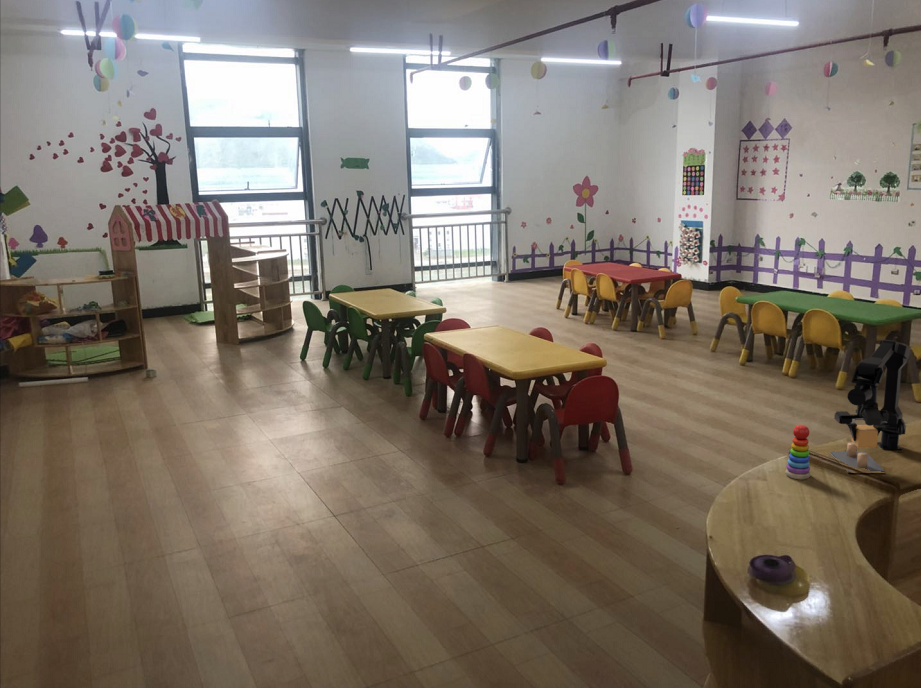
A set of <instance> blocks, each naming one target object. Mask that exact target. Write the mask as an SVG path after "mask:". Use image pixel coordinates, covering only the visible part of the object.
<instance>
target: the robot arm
mask: <svg viewBox="0 0 921 688" xmlns="http://www.w3.org/2000/svg"><path fill="white" fill-rule="evenodd" d="M910 351H911V350H910V348H909V347H908V346H907V345H904V344H901V343H899V341H896V340H889V339H881V340H880V343H879V346H878V347H877V348H876V349H875V351H874V352H873V353H872V354H871V355H870V356H869V357H867V358H863V359H862V360H861V361H859V363H858V364H857V365H856V367H855V369H854V373H853V375H852V379H851V383H852V384H855V385H854V387H853V388H852V389H850V390H849V391H848V393H847V399H848V401H849V403H850V404H852V405H853V406H856V409H855V414H851V413H849V411H847V410H846V411H843V410H842V411H841V410H840V411H835V413H834V420H835V421H836V422H837V423H838V424H841V425H846V426H847V427H848V429H849V432H850V435H851V439H852V438H853V440H854V441H856V427H857V425H858V424H857V423H856V421H864V423H865V425H869V426H871V425H872V426H873V427H874V428H875V429H877V430H878V436H877V438H878V437H879V434H881V435H880V441H879V442H878V441H877V446H879V447H880V448H881V449H882V450H886V451H888V450H890V451H891V450H894V451H897V450H901V451H902V449H903V448H902V447H901V446H900V445H899V441H900V436H902V435H906V427H907V425H906V424H905V423H906V422H905V421H904V419H903V415H904V414H903V412H902V410H901V408H900V407H899V402H900V401H899V399H900V390H901V376H902V368H903V367H904V366H906V364H907V362H908V359H909V358H910V355H911V352H910ZM883 367H885V369H886V374H885V371H884V368H883ZM884 375H885V384H884V385H885V387H884V398H883V399H884V400H883V406H882V408H881V409H879V403H878V402H877V401H878V400H877V399H878V389H879V388H878V386H879V385H880V384H881V382H882V379H883V377H884ZM880 432H881V433H880Z"/></svg>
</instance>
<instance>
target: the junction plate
mask: <svg viewBox="0 0 921 688" xmlns="http://www.w3.org/2000/svg"><path fill="white" fill-rule="evenodd" d="M830 453H831V454H832V455H833V456H834V457H835V458H837V459H839V460H840V461H842V462H844V463H845V464H848V465H850V466H853V467H857V468H865V469H867V470H868V469H869V470H870V471H881V472H885V473H886V470H884V468H883V467H882V466H880V464H878V462H877V461H875V459H874V458H872V457H871V456H870V454H869V453H867V452H866V451H865V450H864V451H861V450H859V451H858V447H857V446H856V445H855V444H854V443H853V442H852V441H850V442H847V449H846V450H845V451H843V450H841V451H839V450H837V451H835V450H831V451H829V454H830ZM831 454H830V455H831ZM832 455H831V456H832ZM833 456H832V457H833ZM834 457H833V458H834ZM847 472H849V470H847ZM847 472H846V473H847Z"/></svg>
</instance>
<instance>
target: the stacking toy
mask: <svg viewBox="0 0 921 688" xmlns="http://www.w3.org/2000/svg"><path fill="white" fill-rule="evenodd" d="M792 431H793V432H792V433H793V435H794V437H793V438H792V439H791V440H792V443H791V447H790V448H791V449H790V450H789V451H790V453H789V454H788V459H787V463H786V469H785V474H786V476H787V477H789V478H791V479H793V480H794V479H795V480H807V479H809V478H810V477H811V471H810V470H811V466H810V456H809V455H810V451H809V448H810V446H809V441H810V440H809V439H808V437H809V435H810V429H809V428H808V426H806V425H805V424H797V425H795V426H794V428H793V429H792Z"/></svg>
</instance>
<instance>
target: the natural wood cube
mask: <svg viewBox="0 0 921 688" xmlns="http://www.w3.org/2000/svg"><path fill="white" fill-rule="evenodd" d="M877 436H878V437H879V435H878V430H877V429H875V428H874V427H873V425H871V426H869V425H866V424H857V427H856V441H854V440H853V438H852V437H851V442H853V443H854V444H855V445H856V446H857V448H877V446H878V444H877V442H878V437H877Z"/></svg>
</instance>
